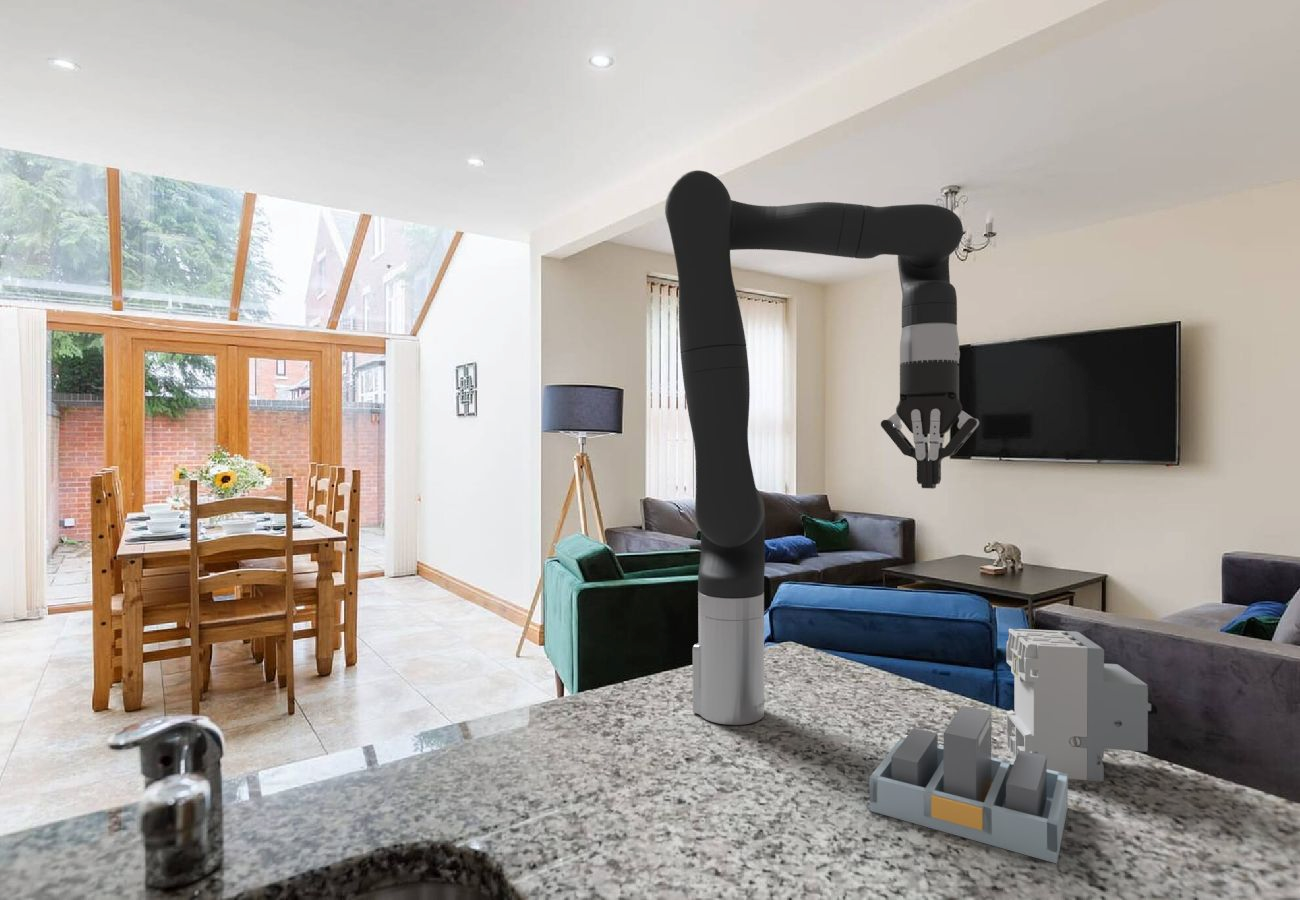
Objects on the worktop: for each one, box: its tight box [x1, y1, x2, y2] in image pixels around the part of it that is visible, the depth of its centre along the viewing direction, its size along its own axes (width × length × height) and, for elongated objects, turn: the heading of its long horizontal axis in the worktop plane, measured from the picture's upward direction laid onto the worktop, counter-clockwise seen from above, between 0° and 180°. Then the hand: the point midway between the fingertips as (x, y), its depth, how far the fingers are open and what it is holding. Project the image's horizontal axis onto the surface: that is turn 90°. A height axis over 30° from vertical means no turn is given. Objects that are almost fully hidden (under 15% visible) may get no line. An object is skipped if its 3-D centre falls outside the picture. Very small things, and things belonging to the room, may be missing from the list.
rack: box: [868, 727, 1069, 865], centre depth 75 cm, size 17×12×6 cm
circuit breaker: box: [1005, 628, 1158, 782], centre depth 85 cm, size 8×14×15 cm, turn 78°
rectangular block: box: [943, 705, 992, 803], centre depth 75 cm, size 3×9×8 cm, turn 146°
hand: (929, 487), depth 98 cm, fingers closed
